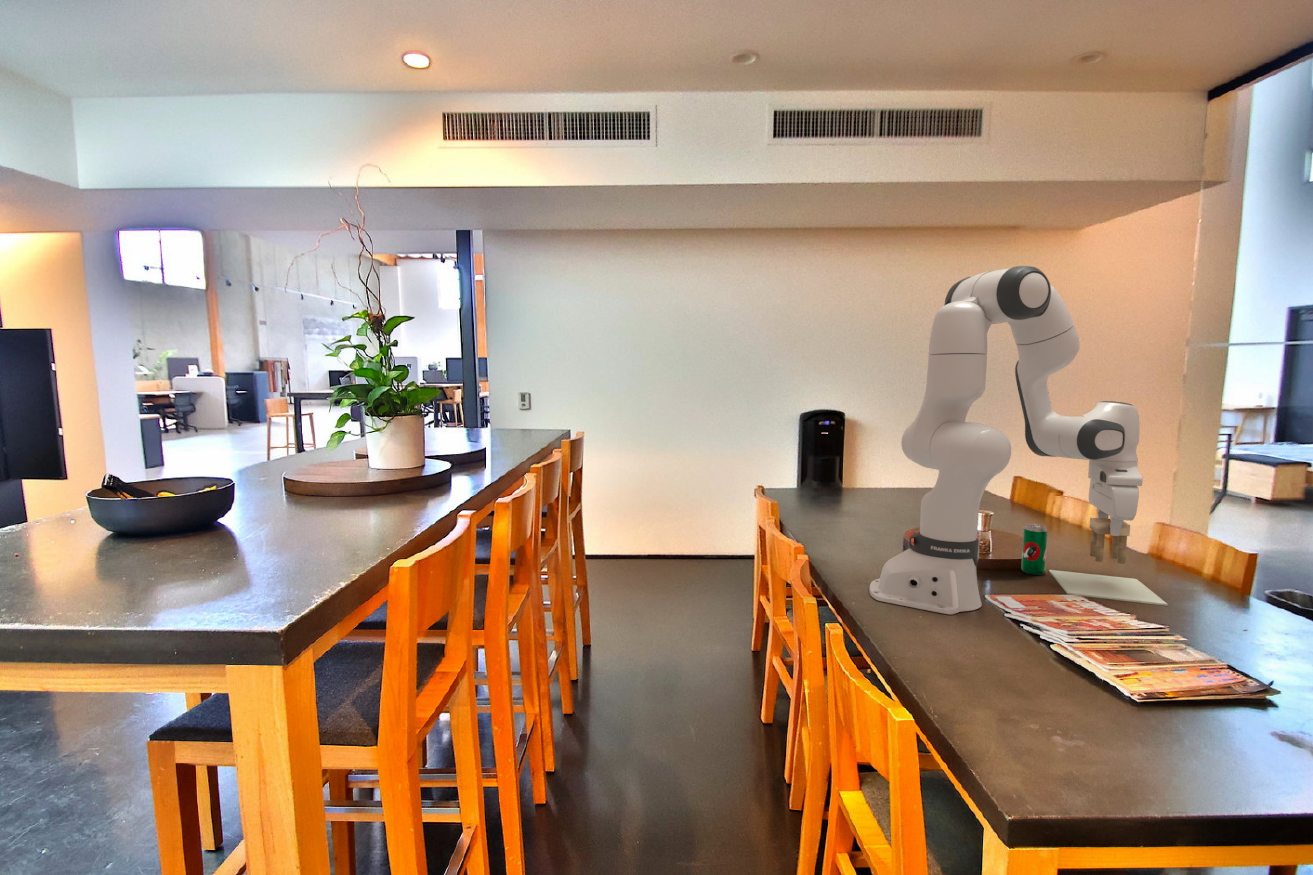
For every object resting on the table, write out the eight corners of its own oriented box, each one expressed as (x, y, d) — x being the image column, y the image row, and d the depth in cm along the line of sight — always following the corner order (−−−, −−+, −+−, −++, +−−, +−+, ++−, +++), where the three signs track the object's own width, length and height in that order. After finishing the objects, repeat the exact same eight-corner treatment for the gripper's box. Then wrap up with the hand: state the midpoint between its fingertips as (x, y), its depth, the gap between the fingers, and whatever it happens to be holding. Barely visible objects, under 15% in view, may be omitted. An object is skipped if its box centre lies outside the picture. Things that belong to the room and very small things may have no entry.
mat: (1067, 594, 133) (1067, 592, 133) (1048, 571, 150) (1048, 569, 150) (1167, 605, 127) (1167, 604, 127) (1136, 580, 143) (1136, 578, 143)
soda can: (1048, 576, 146) (1051, 528, 145) (1025, 575, 147) (1028, 527, 146) (1039, 570, 151) (1042, 523, 150) (1017, 568, 152) (1020, 522, 151)
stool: (1095, 561, 136) (1098, 523, 135) (1087, 554, 142) (1090, 517, 141) (1127, 564, 134) (1130, 525, 133) (1118, 557, 139) (1120, 519, 139)
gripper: (1082, 465, 147) (1079, 520, 148) (1110, 478, 128) (1106, 540, 129) (1113, 466, 144) (1110, 522, 146) (1146, 479, 125) (1141, 543, 127)
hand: (1108, 531), depth 137 cm, fingers closed on stool, 6 cm apart
